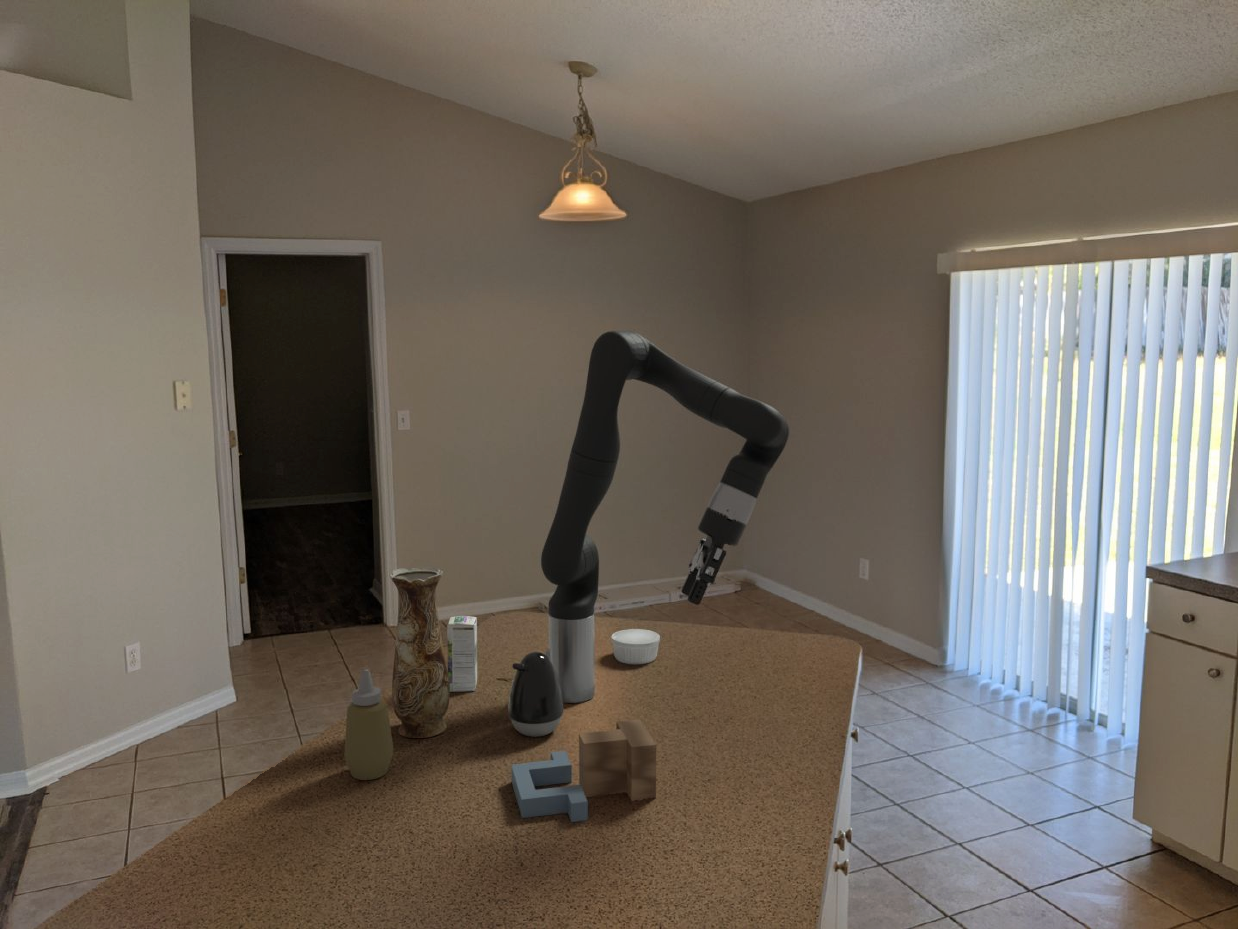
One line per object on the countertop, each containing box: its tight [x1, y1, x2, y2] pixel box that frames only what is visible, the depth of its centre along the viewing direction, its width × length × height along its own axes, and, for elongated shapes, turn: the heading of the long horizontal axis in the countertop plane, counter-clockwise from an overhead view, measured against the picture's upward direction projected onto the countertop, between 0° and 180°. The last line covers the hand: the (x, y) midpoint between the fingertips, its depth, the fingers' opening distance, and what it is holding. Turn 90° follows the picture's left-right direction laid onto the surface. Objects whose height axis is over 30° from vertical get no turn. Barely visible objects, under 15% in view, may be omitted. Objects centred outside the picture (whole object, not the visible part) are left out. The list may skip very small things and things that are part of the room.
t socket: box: [510, 750, 589, 823], centre depth 148 cm, size 10×18×3 cm, turn 14°
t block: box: [578, 719, 657, 802], centre depth 151 cm, size 11×10×9 cm
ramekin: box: [610, 628, 661, 665], centre depth 212 cm, size 11×11×5 cm
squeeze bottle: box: [343, 668, 394, 781], centre depth 155 cm, size 8×8×18 cm
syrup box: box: [446, 615, 478, 693], centre depth 194 cm, size 6×6×14 cm
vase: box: [389, 566, 450, 739], centre depth 172 cm, size 10×11×30 cm
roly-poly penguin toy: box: [507, 651, 564, 738], centre depth 172 cm, size 10×10×15 cm
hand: (689, 598), depth 162 cm, fingers open, 8 cm apart
